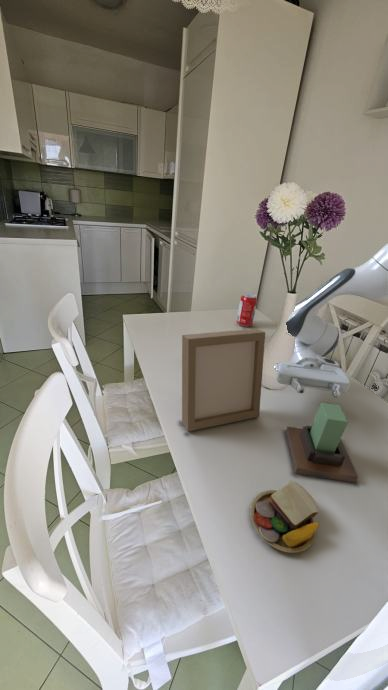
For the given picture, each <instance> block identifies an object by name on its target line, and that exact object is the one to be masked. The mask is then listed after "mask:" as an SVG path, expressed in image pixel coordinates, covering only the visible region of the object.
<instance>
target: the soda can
mask: <svg viewBox="0 0 388 690" xmlns="http://www.w3.org/2000/svg"><path fill="white" fill-rule="evenodd" d="M257 304H258V297H257V295H256V294H255V293H251V292H244V293H243V294H242V295H241V296H240V300H239V306H238V311H237V316H236V323H237V324H238V325H239V326H241V327H243V328H244V327H245V328H246V327H252V325H253V323H254V319H255V314H256V309H257Z"/></svg>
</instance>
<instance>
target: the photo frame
mask: <svg viewBox="0 0 388 690" xmlns="http://www.w3.org/2000/svg"><path fill="white" fill-rule="evenodd" d="M265 342H266V331H263V330H260V329H257V328H252V329H250V328H249V329H239V330H226V331H213V332H201V333H192V334H191V333H189V334H182V335H181V354H182V355H181V377H182V378H181V397H182V398H181V424H182V426H183V427H184V428H185V430H186V431H187V432H191V431H196V430H197V431H198V430H201V429H202V430H203V429H205V428H206V429H207V428H211V427H216V426H221V425H225V424H231V423H235V422H240V421H245V420H250V419H255V418H259V417H260V410H261V396H262V385H263V384H262V383H263V370H264V356H265V355H264V354H265V344H266V343H265Z"/></svg>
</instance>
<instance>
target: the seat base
mask: <svg viewBox="0 0 388 690" xmlns="http://www.w3.org/2000/svg"><path fill="white" fill-rule="evenodd" d="M311 428H312V425H306V426H302V427H296V426H295V427H294V426H288V425H287V426H286V428H285V436H286V441H287V446H288V450H289V453H290V454H289V455H290V457H291V461H292V466H293V470H294V474H297V475H303V476H308V477H316V478H321V479H329V480H335V481H341V482H348V483H354V484H355V483H357V480H358V479H359V475H358V473H357V471H356V469H355V467H354V464H353V462H352V459H351V458H350V455H349V453H348V450H347V448H346V446H345V444H344V442H343V440H342V438H341V439H340V441H339V444H338V446H337V448H336V451H335V453H328V452H321V451H314V448H313V445H312V441H311V438H310V435H309V433H310V431H311Z"/></svg>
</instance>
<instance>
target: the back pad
mask: <svg viewBox="0 0 388 690" xmlns="http://www.w3.org/2000/svg"><path fill="white" fill-rule="evenodd" d="M348 423H349V421H348V419H347V417H346V415H345V413H344V411H343V409H342V407H341V405H340V404H333V403H326V402H320V404H319V406H318V409H317V411H316V414H315V417H314V420H313V422H312V425H311V426H312V428H311V431H310V433H309V435H310V438H311V441H312V445H313V448H314V451H321V452H328V453H335V451H336V448H337V446H338V444H339V441H340V439H341V440H342V437H343V435H344V432H345V430H346V428H347V425H348Z"/></svg>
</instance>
